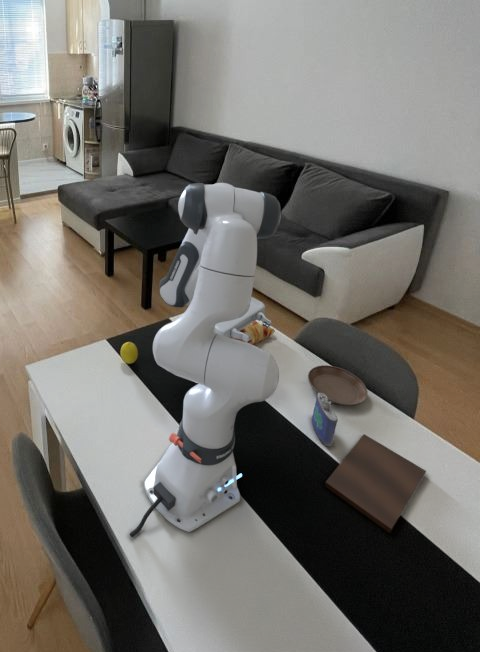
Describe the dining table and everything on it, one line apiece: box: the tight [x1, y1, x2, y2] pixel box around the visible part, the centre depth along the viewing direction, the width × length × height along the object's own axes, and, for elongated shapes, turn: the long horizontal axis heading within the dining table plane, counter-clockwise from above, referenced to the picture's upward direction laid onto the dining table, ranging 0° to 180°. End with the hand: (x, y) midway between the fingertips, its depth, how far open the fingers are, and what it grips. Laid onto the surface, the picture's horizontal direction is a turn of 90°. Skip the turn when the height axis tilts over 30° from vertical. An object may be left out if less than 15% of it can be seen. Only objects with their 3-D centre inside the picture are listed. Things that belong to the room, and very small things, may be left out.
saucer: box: [307, 364, 369, 407], centre depth 122 cm, size 15×15×3 cm
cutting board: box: [324, 433, 427, 534], centre depth 97 cm, size 20×13×2 cm, turn 127°
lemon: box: [120, 341, 139, 365], centre depth 137 cm, size 6×6×8 cm
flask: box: [311, 393, 339, 448], centre depth 108 cm, size 9×3×11 cm, turn 172°
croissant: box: [229, 320, 276, 345], centre depth 145 cm, size 21×10×8 cm, turn 97°
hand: (259, 331), depth 118 cm, fingers open, 8 cm apart
